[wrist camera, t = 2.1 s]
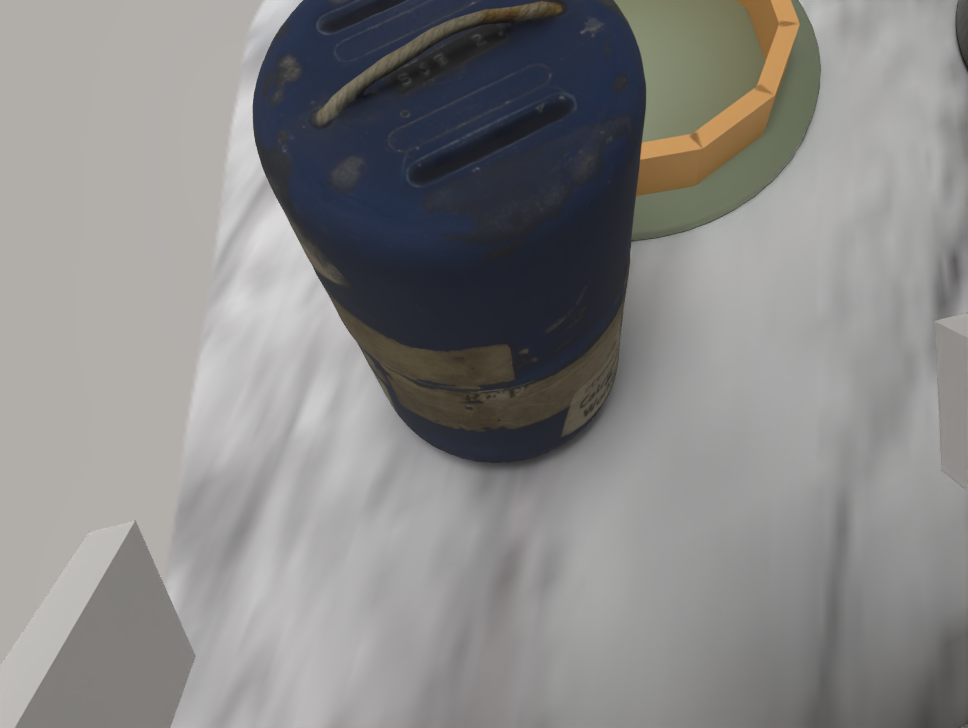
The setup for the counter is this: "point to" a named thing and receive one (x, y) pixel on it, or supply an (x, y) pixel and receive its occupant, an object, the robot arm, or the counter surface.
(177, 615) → the robot arm
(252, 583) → the counter surface
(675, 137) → the green orange round dish
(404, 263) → the canister
